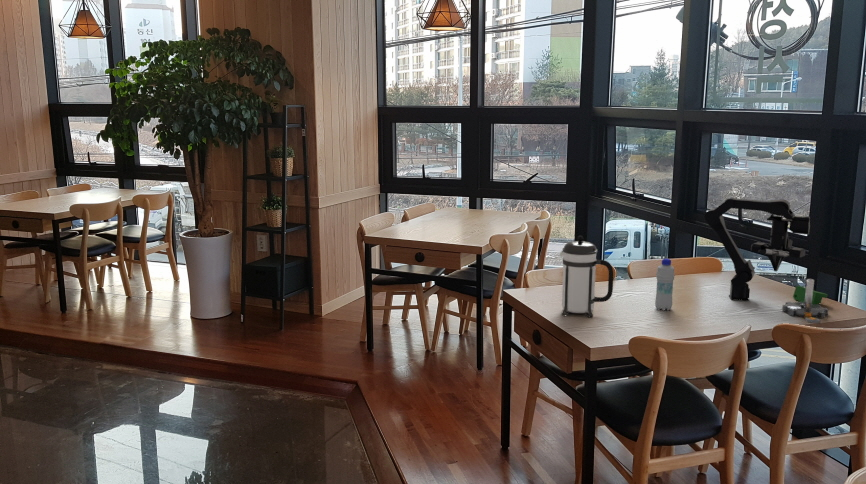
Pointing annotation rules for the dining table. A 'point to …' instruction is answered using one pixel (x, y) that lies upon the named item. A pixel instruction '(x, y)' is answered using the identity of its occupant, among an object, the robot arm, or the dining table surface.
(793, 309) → the sprocket
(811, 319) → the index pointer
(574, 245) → the coffee press
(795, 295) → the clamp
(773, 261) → the robot arm
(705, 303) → the dining table surface
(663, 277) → the bottle
